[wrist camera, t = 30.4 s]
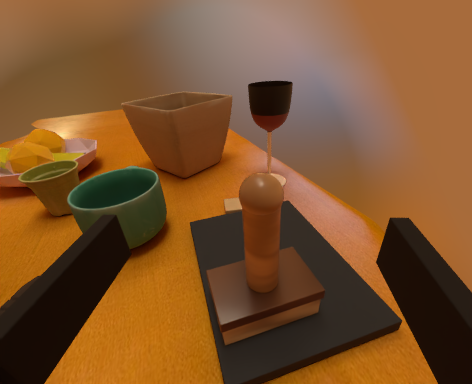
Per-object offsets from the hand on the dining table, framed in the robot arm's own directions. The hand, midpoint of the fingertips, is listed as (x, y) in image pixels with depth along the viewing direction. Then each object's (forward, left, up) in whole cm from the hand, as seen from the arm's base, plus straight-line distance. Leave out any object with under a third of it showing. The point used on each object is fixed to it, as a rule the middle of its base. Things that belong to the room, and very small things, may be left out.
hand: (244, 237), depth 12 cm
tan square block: (+27, -6, -17) cm, 33 cm away
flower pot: (+52, -1, -17) cm, 55 cm away
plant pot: (+40, +25, -17) cm, 51 cm away
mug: (+28, +11, -17) cm, 35 cm away
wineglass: (+35, -17, -17) cm, 43 cm away
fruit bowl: (+62, +36, -17) cm, 74 cm away
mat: (+12, -7, -17) cm, 22 cm away
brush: (+7, -3, -16) cm, 17 cm away
